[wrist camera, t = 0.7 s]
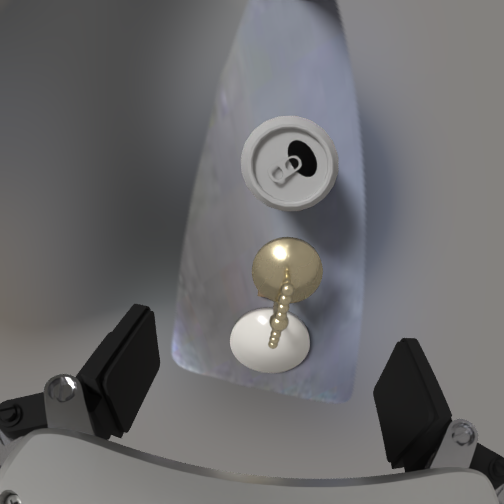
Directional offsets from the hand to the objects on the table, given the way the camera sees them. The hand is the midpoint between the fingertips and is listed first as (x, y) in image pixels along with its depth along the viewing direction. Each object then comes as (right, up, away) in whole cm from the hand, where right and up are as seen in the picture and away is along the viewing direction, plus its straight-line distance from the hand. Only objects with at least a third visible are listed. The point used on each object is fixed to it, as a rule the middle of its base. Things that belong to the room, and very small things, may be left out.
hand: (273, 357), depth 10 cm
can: (+3, +14, +21) cm, 25 cm away
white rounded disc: (+2, -8, +30) cm, 31 cm away
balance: (+3, +2, +25) cm, 25 cm away
